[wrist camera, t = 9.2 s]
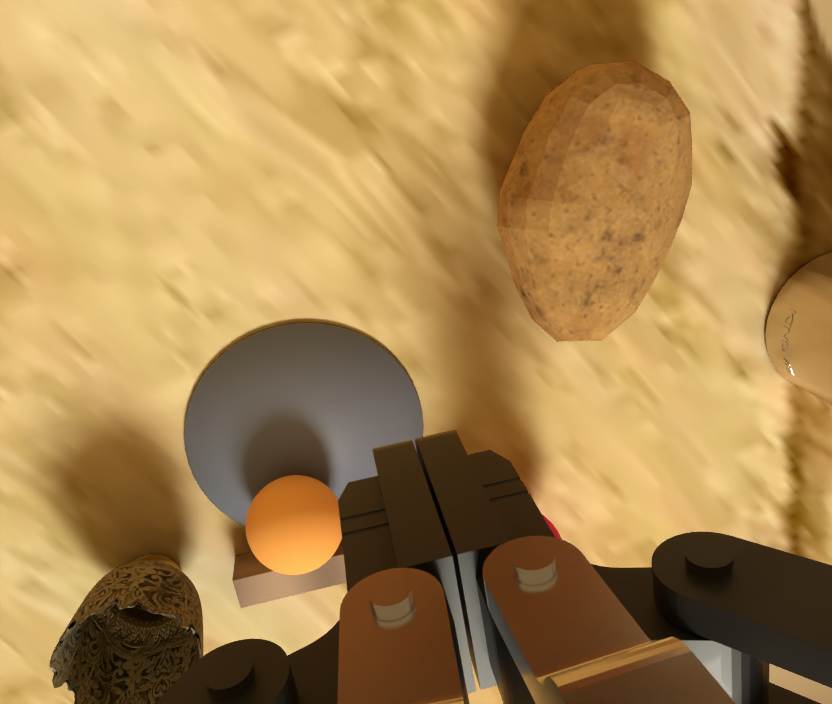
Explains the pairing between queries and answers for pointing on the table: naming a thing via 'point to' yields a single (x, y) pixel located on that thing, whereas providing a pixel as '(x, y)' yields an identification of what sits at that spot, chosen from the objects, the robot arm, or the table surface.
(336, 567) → the strip
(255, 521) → the ball
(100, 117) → the table surface
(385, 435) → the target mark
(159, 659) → the cup
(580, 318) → the potato
